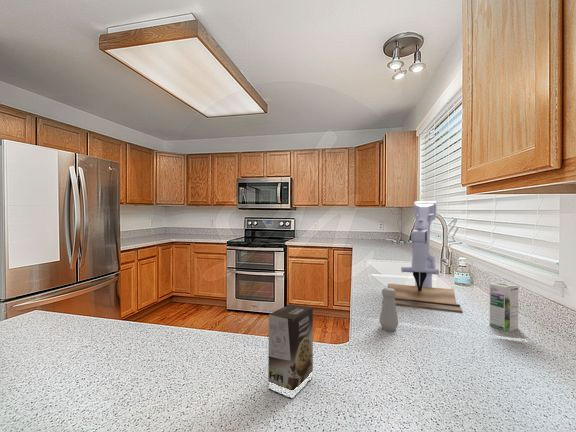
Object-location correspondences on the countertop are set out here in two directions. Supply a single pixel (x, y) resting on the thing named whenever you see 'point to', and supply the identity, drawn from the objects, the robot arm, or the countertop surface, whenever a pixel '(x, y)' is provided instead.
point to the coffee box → (290, 345)
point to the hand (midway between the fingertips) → (419, 290)
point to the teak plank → (424, 293)
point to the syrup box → (503, 306)
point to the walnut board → (428, 305)
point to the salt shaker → (388, 310)
